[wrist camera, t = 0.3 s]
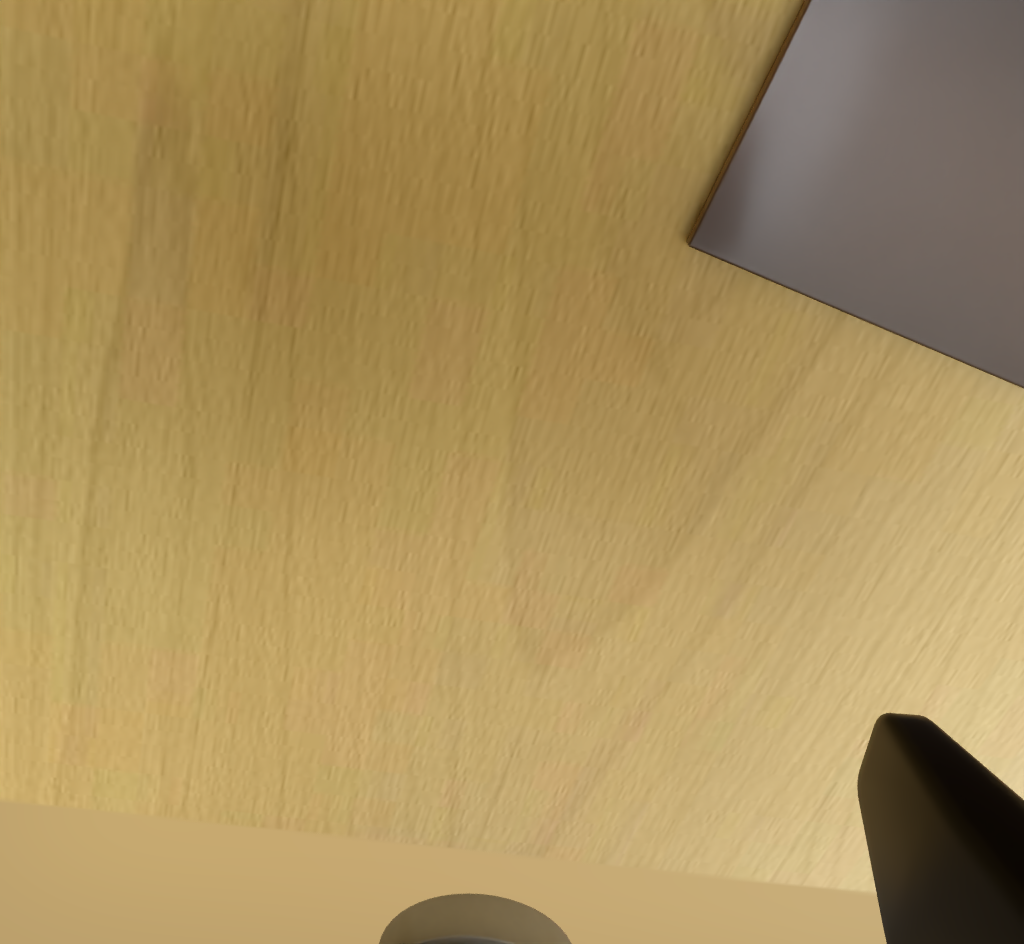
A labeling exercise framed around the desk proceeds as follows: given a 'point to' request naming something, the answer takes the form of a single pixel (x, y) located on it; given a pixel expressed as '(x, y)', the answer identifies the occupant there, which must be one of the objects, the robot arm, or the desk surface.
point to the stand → (889, 173)
